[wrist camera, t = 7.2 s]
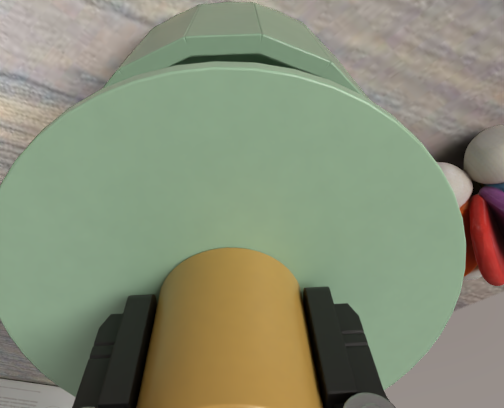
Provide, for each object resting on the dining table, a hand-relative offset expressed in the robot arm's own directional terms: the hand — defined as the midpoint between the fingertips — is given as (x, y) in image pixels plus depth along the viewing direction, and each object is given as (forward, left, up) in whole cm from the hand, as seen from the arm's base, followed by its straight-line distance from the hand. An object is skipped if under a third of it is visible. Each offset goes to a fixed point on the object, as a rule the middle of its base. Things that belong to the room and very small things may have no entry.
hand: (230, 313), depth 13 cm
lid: (0, 0, -1) cm, 1 cm away
